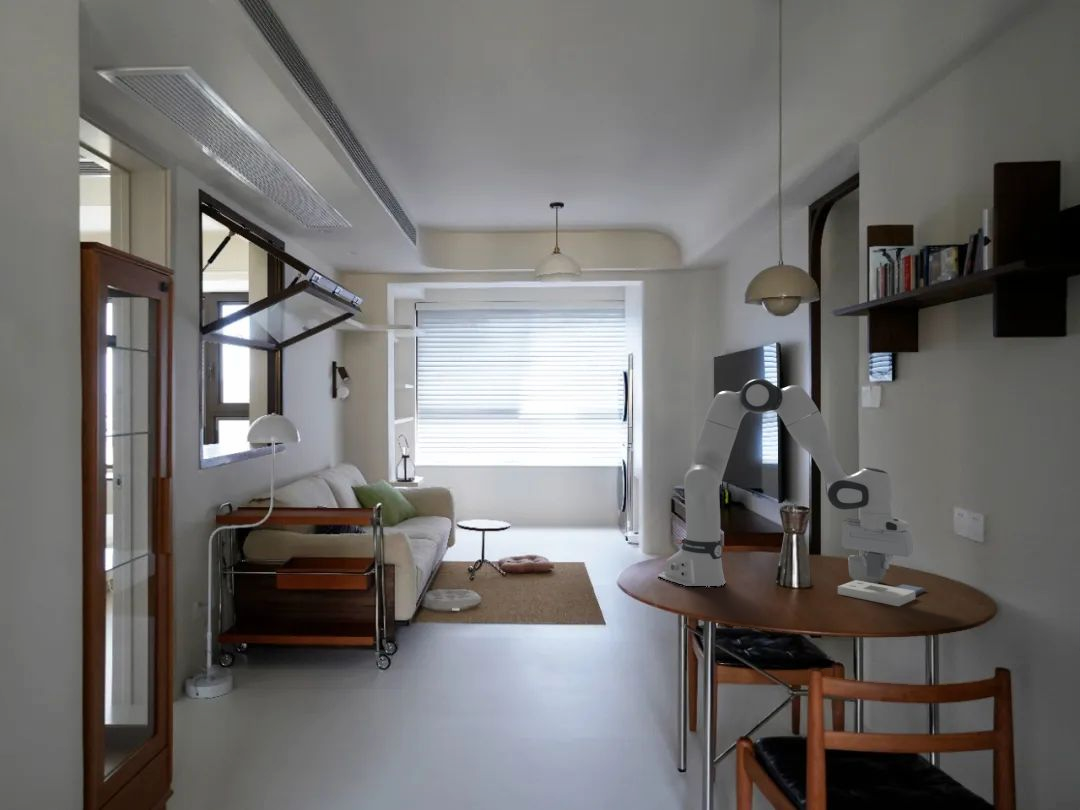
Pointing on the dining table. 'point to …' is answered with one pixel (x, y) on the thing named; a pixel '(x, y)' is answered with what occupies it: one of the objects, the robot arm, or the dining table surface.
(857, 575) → the grey rounded block
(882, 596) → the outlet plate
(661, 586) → the dining table surface
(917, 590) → the phone
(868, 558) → the block
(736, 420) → the robot arm
